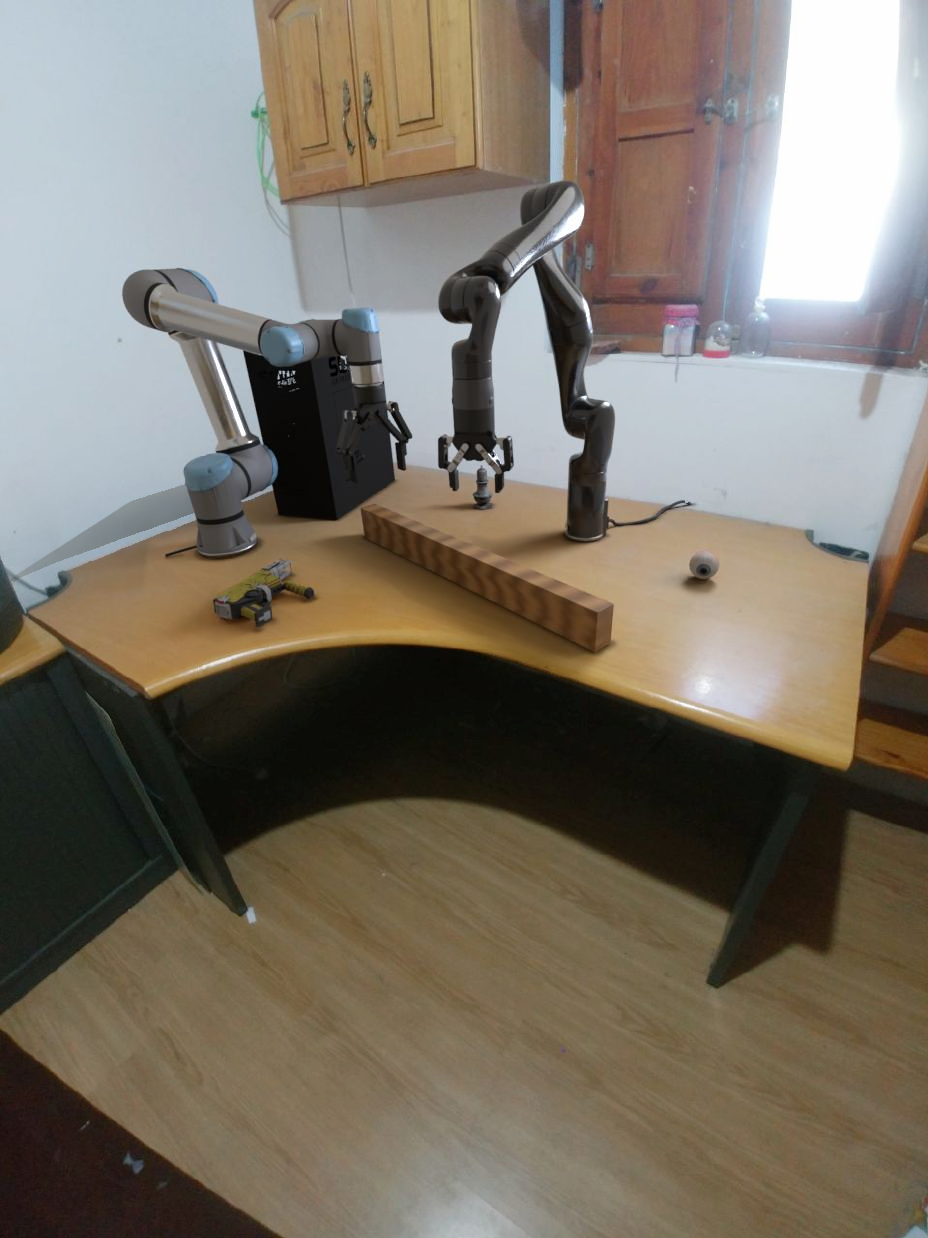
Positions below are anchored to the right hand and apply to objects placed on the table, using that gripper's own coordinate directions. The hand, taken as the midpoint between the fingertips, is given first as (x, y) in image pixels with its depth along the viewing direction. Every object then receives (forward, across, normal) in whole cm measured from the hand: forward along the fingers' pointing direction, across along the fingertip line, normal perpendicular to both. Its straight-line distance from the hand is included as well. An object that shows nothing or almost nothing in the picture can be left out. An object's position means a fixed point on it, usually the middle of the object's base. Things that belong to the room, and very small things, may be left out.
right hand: (476, 491), depth 117 cm
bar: (+23, +6, -7) cm, 25 cm away
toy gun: (+23, +43, +11) cm, 50 cm away
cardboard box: (+23, +62, -56) cm, 87 cm away
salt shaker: (+23, +15, -54) cm, 61 cm away
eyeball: (+23, -45, -18) cm, 53 cm away
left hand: (+5, +32, -24) cm, 40 cm away
